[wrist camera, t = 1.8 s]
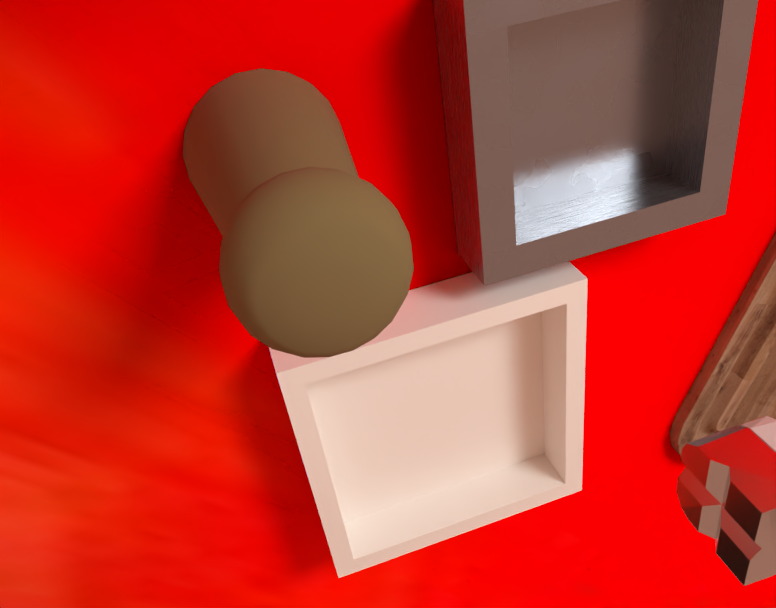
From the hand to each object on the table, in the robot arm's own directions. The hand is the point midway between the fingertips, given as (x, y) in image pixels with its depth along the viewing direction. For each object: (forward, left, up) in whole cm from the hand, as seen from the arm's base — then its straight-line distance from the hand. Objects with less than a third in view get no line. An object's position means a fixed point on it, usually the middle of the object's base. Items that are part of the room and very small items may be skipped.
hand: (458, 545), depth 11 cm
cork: (0, 0, -19) cm, 19 cm away
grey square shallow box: (+13, -1, -19) cm, 23 cm away
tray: (+5, -15, -19) cm, 25 cm away
